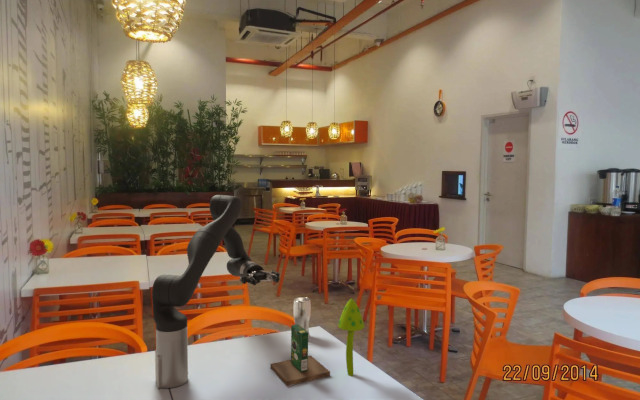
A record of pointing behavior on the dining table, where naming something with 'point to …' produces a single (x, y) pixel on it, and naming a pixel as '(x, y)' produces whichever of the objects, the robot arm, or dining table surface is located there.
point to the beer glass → (302, 312)
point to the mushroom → (350, 329)
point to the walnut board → (294, 376)
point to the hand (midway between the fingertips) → (266, 281)
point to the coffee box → (299, 347)
